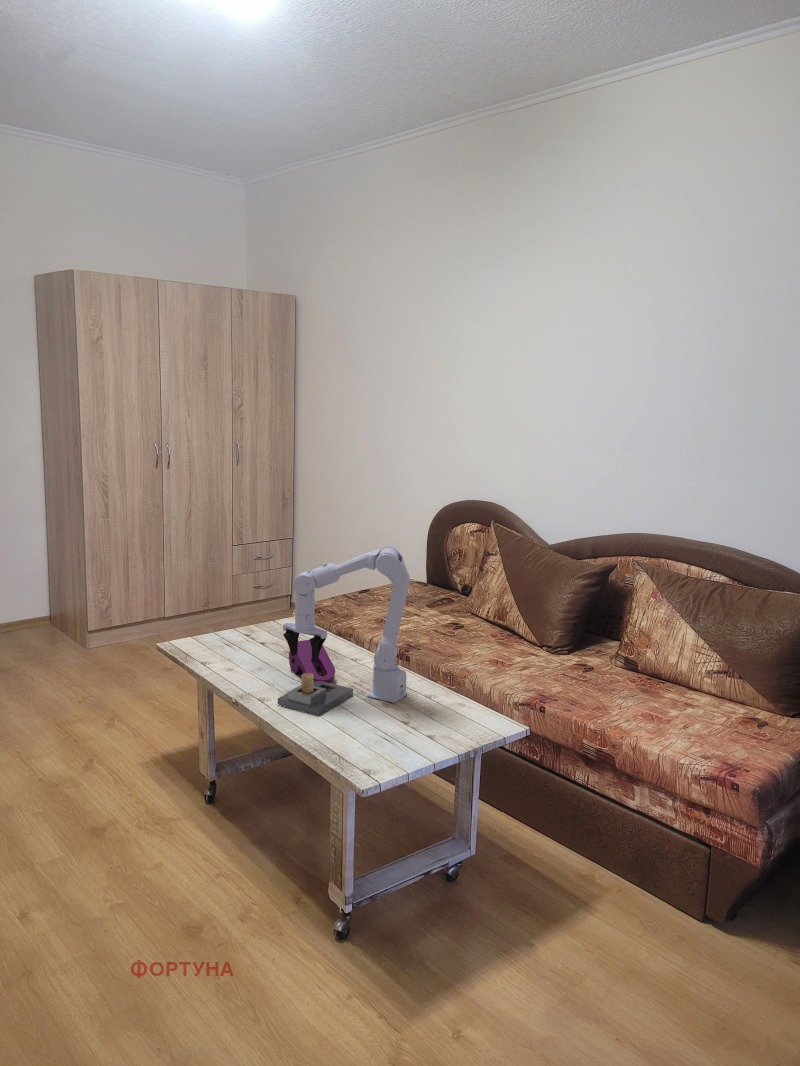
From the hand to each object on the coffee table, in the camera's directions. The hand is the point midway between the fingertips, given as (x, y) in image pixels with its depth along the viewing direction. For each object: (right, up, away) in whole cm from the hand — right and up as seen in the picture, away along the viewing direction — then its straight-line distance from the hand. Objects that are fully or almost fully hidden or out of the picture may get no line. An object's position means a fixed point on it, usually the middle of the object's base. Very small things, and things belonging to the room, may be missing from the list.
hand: (304, 657), depth 237 cm
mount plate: (+4, -12, -5) cm, 13 cm away
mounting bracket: (+1, -8, +14) cm, 16 cm away
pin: (+2, -12, -9) cm, 15 cm away
